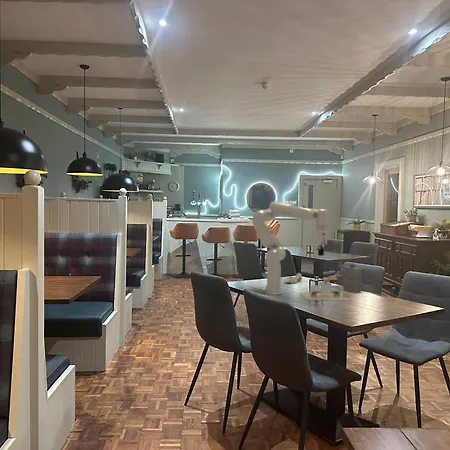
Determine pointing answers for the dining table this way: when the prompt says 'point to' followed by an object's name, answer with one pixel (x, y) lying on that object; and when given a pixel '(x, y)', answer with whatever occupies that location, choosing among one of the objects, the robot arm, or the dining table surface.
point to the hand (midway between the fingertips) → (320, 255)
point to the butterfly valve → (297, 277)
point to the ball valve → (325, 292)
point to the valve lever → (338, 278)
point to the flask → (352, 279)
